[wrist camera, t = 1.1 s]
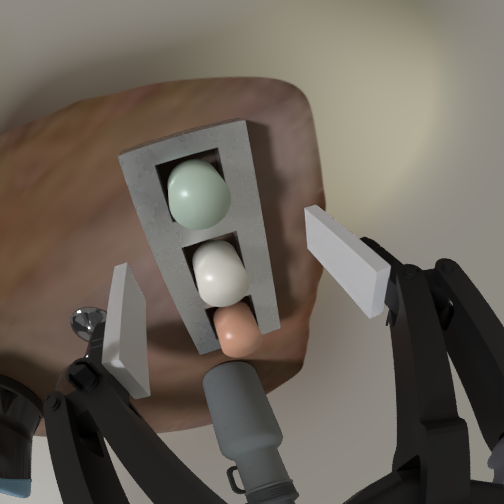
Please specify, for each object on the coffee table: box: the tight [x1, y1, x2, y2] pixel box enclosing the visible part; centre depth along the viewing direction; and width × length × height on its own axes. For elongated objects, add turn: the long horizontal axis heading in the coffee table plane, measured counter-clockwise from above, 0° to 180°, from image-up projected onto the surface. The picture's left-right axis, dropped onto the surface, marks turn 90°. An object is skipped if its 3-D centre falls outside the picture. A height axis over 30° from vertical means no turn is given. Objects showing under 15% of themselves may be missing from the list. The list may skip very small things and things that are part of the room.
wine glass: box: [54, 307, 107, 437], centre depth 28 cm, size 8×8×15 cm
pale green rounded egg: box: [168, 159, 231, 230], centre depth 24 cm, size 5×5×5 cm
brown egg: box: [213, 301, 263, 357], centre depth 34 cm, size 5×5×5 cm
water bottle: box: [203, 361, 299, 504], centre depth 36 cm, size 10×10×28 cm
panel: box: [118, 118, 281, 355], centre depth 32 cm, size 12×28×3 cm, turn 10°
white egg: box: [192, 240, 250, 307], centre depth 29 cm, size 5×5×5 cm
